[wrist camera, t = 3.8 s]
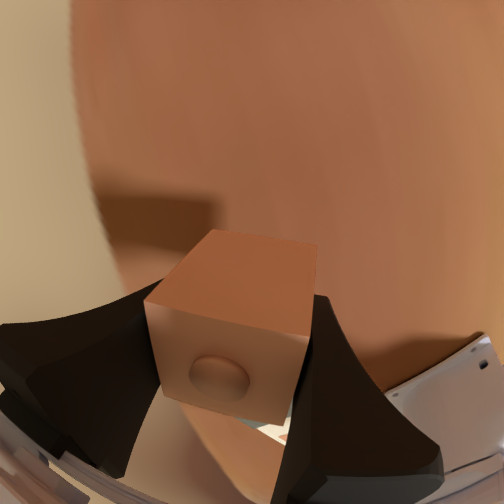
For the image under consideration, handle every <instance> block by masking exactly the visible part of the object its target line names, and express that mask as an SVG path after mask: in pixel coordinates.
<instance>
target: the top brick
mask: <svg viewBox="0 0 504 504" xmlns="http://www.w3.org/2000/svg"><path fill="white" fill-rule="evenodd" d="M316 257H317V245H313V244H307V243H300V242H294V241H288V240H282V239H275V238H269V237H262V236H256V235H249V234H243V233H236V232H229V231H223V230H216V229H212V230H211V231H210V232H209V233H208V234H207V235H206V236H205V237H204V238H203V239H202V240H201V241H200V242H199V243H198V244H197V245H196V246H195V247H194V248H193V249H192V250H191V251H190V252H189V253H188V254H187V255H186V256H185V257H184V258H183V259H182V260H181V261H180V262H179V263H178V265H177V266H176V267H175V268H174V269H173V270H172V271H171V272H170V273H169V274H168V275H167V276H166V277H165V278H164V279H163V280H162V281H161V282H160V283H159V285H158V286H157V287H156V288H155V289H154V290H153V291H152V292H151V293H150V294H149V295H148V296H147V297H146V299H145V300H144V307H145V312H146V318H147V323H148V329H149V334H150V339H151V344H152V348H153V353H154V357H155V362H156V366H157V370H158V374H159V378H160V382H161V386H162V390H163V394H164V396H166V397H169V398H172V399H175V400H178V401H181V402H184V403H187V404H190V405H194V406H197V407H200V408H204V409H207V410H211V411H215V412H218V413H222V414H226V415H230V416H234V417H238V418H243V419H247V420H252V421H256V422H261V423H266V424H271V425H277V426H284V423H285V420H286V417H287V414H288V411H289V408H290V404H291V401H292V398H293V395H294V392H295V388H296V385H297V382H298V378H299V375H300V371H301V368H302V364H303V361H304V357H305V354H306V350H307V346H308V343H309V339H310V332H311V322H312V311H313V300H314V287H315V273H316Z"/></svg>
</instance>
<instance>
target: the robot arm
mask: <svg viewBox="0 0 504 504" xmlns="http://www.w3.org/2000/svg"><path fill="white" fill-rule="evenodd" d="M163 279H164V278H163ZM163 279H161V280H159V281H157V282H155V283H153V284H151V285H149V286H147V287H145V288H143V289H141V290H139V291H137V292H135V293H132V294H130V295H128V296H125V297H123V298H121V299H119V300H116V301H114V302H112V303H109V304H107V305H104V306H101V307H98V308H95V309H92V310H89V311H85V312H82V313H78V314H74V315H70V316H66V317H62V318H57V319H51V320H45V321H38V322H29V323H10V324H2V325H0V382H1V384H2V385H3V386H4V388H5V390H4V391H3V392H2V393H1V395H0V504H88V502H89V500H90V497H89V496H87V495H86V494H85V493H83V492H81V491H80V490H79V489H77V488H76V487H74V486H73V485H72V484H70V483H69V482H67V481H66V480H65V479H64V478H62V477H61V476H60V475H58V474H57V473H56V472H54V471H53V470H52V469H51V468H49V462H48V460H49V461H50V462H51V463H53V464H54V465H56V466H57V467H58V468H60V469H61V470H62V471H64V472H65V473H67V474H68V475H70V476H71V477H73V478H74V479H76V480H77V481H79V482H80V483H82V484H83V485H85V486H87V487H88V488H90V489H91V490H93V491H95V492H97V493H98V494H100V495H102V496H104V497H105V498H107V499H109V500H111V501H113V502H114V503H116V504H168V503H165V502H163V501H160V500H157V499H155V498H153V497H150V496H148V495H146V494H144V493H141V492H139V491H137V490H135V489H132V488H131V487H128V486H126V485H124V484H122V483H120V482H118V481H116V480H115V479H118V478H121V477H124V475H125V471H126V468H127V465H128V461H129V458H130V455H131V452H132V449H133V446H134V443H135V441H136V438H137V436H138V433H139V430H140V428H141V425H142V423H143V421H144V418H145V416H146V414H147V411H148V409H149V407H150V405H151V403H152V400H153V398H154V396H155V394H156V392H157V389H158V388H159V386H160V384H161V382H160V378H159V374H158V370H157V366H156V362H155V357H154V353H153V348H152V344H151V339H150V334H149V329H148V323H147V318H146V312H145V307H144V300H145V299H146V297H147V296H148V295H149V294H150V293H151V292H152V291H153V290H154V289H155V288H156V287H157V286H158V285H159V283H160V282H161V281H162V280H163ZM91 466H92V467H91ZM93 467H94V468H93ZM96 469H97V470H96ZM98 470H99V471H98ZM100 471H101V472H100ZM102 472H103V473H104V474H103V473H102ZM105 474H106V475H105ZM107 475H108V476H107ZM109 476H110V477H109ZM111 477H112V478H111ZM113 478H114V479H113ZM270 504H504V365H502V364H501V362H500V360H499V358H498V356H497V354H496V352H495V350H494V348H493V346H492V344H491V342H490V339H489V337H488V335H487V334H484V335H482V336H480V337H479V338H477V339H476V340H475V341H473V342H472V343H470V344H469V345H467V346H466V347H464V348H463V349H461V350H460V351H458V352H457V353H455V354H454V355H452V356H451V357H449V358H447V359H446V360H444V361H442V362H441V363H439V364H438V365H436V366H434V367H432V368H431V369H429V370H427V371H425V372H424V373H422V374H420V375H418V376H416V377H415V378H413V379H411V380H409V381H407V382H405V383H403V384H401V385H399V386H397V387H395V388H393V389H391V390H389V391H387V392H386V393H385V394H383V393H382V392H381V390H380V389H379V388H378V387H377V386H376V384H375V383H374V382H373V381H372V379H371V378H370V376H369V375H368V374H367V372H366V371H365V369H364V368H363V366H362V365H361V363H360V362H359V360H358V358H357V357H356V355H355V353H354V352H353V350H352V348H351V347H350V345H349V343H348V341H347V339H346V337H345V335H344V333H343V331H342V329H341V327H340V325H339V323H338V321H337V318H336V316H335V314H334V311H333V309H332V306H331V303H330V300H329V299H328V297H327V296H321V295H314V300H313V311H312V322H311V332H310V339H309V343H308V346H307V350H306V354H305V357H304V361H303V364H302V368H301V371H300V375H299V378H298V382H297V385H296V388H295V392H294V395H293V401H292V413H291V420H290V426H289V431H288V436H287V440H286V445H285V449H284V453H283V458H282V462H281V466H280V470H279V474H278V477H277V481H276V485H275V489H274V492H273V496H272V499H271V503H270Z"/></svg>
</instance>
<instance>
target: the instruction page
mask: <svg viewBox="0 0 504 504" xmlns="http://www.w3.org/2000/svg"><path fill="white" fill-rule="evenodd" d="M290 420H291V417H288V418H286V420H285V423H284V426H277V425H271V424H268V425H265V426H262V427H259V428H257V429H258V430H260V431H262V432H263V433H265V434H266V435H268V436H270V437H271V438H273V439H275V440H276V441H278V442H280V443H282V444H283V445H286V440H287V436H288V431H289V426H290Z"/></svg>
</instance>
